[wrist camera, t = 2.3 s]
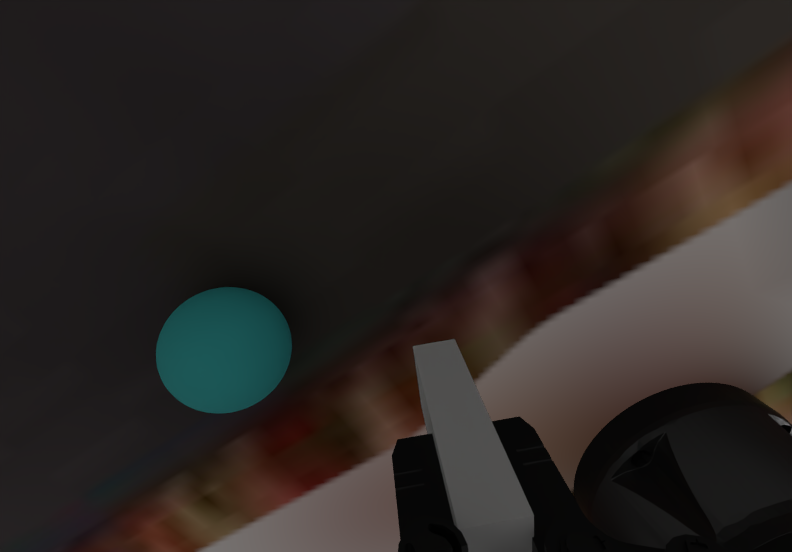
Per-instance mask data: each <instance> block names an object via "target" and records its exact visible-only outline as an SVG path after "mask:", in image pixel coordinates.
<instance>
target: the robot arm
mask: <svg viewBox="0 0 792 552" xmlns="http://www.w3.org/2000/svg"><path fill="white" fill-rule="evenodd" d="M413 351H414V358H415V365H416V372H417V379H418V386H419V393H420V400H421V407H422V411H423V416H424V420H425V425H426V429H427V433H428V434H427V435H420V436H415V437H409V438H404V439H398V440H397V443H396V446H395V449H394V451H393V454H392V461H393V470H394V480H395V488H396V499H397V509H398V519H399V528H400V539H401V541H400V543H399V548H398V552H792V425H791V424H790V423H789V422H788V421H787V420H786V419H785V418H784V417H783V416H782V415H780V414H779V413H778V412H776V411H775V410H773V409H772V408H770V407H769V406H767V405H766V404H764V403H763V402H762V401H760V400H759V399H757V398H756V397H754V396H753V395H751V394H750V393H748V392H746V391H744V390H742V389H739V388H737V387H734V386H731V385H726V384H720V383H695V384H688V385H683V386H678V387H674V388H670V389H667V390H664V391H661V392H659V393H656V394H654V395H651V396H649V397H647V398H645V399H643V400H641V401H639V402H637V403H636V404H634V405H632V406H631V407H629V408H628V409H626V410H624V411H623V412H622V413H620V414H619V415H618V416H616V417H615V418H614V419H613V420H611V421H610V422H609V423H608V424H607V425H606V426H605V427H604V428H603V429H602V430H601V431H600V432H599V433H598V434H597V435H596V437H595V438H594V439H593V440H592V442H591V443H590V444H589V446H588V447H587V449H586V450H585V453H584V454H583V456H582V458H581V460H580V462H579V465H578V467H577V471H576V474H575V480H574V495H575V498H574V496H573V495H572V493H571V491H570V490H569V488H568V486H567V484H566V483H565V481H564V479H563V477H562V476H561V474H560V472H559V471H558V469H557V467H556V466H555V464H554V462H553V461H552V460H551V457H550V455H549V453H548V452H547V450H546V449H545V448H544V446H543V443H542V441H541V440H540V438H539V436H538V434H537V433H536V431H535V429H534V428H533V427H531V426H530V425H529V424H528V423H527V422H525V421H524V420H523V419H522V418H520V417H514V418H509V419H503V420H497V421H491V419H490V417H489V414H488V412H487V410H486V408H485V406H484V403H483V401H482V399H481V397H480V395H479V392H478V390H477V388H476V385H475V383H474V381H473V379H472V377H471V374H470V372H469V370H468V368H467V366H466V363H465V361H464V359H463V357H462V354H461V352H460V350H459V348H458V346H457V343H456V341H455V339H451V340H446V341H440V342H434V343H428V344H422V345H417V346H413Z"/></svg>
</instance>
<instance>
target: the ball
mask: <svg viewBox="0 0 792 552" xmlns="http://www.w3.org/2000/svg"><path fill="white" fill-rule="evenodd" d="M291 351H292V340H291V333H290V329H289V326H288V324H287V321H286V319H285V317H284V316H283V314H282V313H281V311H280V310H279V309H278V308H277V307H276V306H275V305H274V304H273V303H272V302H271V301H270V300H268V299H267V298H265V297H264V296H262V295H260V294H258V293H256V292H253V291H251V290H247V289H243V288H237V287H222V288H215V289H210V290H207V291H204V292H201V293H199V294H197V295H195V296H193V297H191V298H189V299H188V300H186V301H185V302H184V303H182V304H181V305H180V306H179V307H178V308H177V309H176V310H175V311H174V312H173V313H172V314H171V315H170V317H169V318H168V319H167V321H166V322H165V324H164V326H163V328H162V330H161V332H160V335H159V338H158V342H157V348H156V363H157V369H158V372H159V374H160V377H161V380H162V382H163V383H164V385H165V387H166V388H167V389H168V391H169V392H170V393H171V394H172V395H173V396H174V397H175V398H176V399H177V400H179V401H180V402H182V403H183V404H185V405H186V406H188V407H190V408H193V409H195V410H198V411H202V412H207V413H231V412H235V411H239V410H242V409H245V408H248V407H250V406H252V405H254V404H256V403H258V402H259V401H261V400H262V399H264V398H265V397H266V396H267V395H268V394H270V393H271V392H272V391H273V390H274V389H275V388H276V386H277V385H278V384H279V382H280V381H281V379H282V378H283V376H284V374H285V372H286V370H287V368H288V365H289V362H290V358H291Z"/></svg>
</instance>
